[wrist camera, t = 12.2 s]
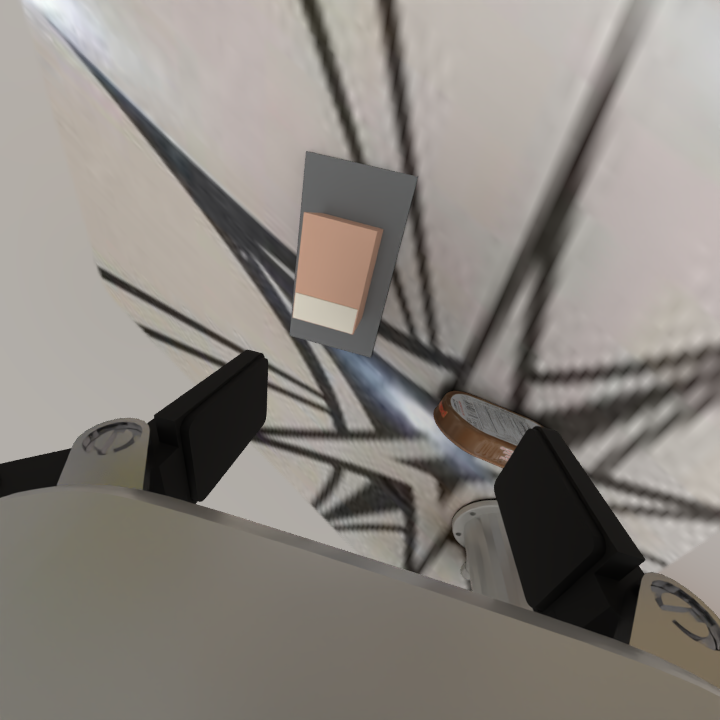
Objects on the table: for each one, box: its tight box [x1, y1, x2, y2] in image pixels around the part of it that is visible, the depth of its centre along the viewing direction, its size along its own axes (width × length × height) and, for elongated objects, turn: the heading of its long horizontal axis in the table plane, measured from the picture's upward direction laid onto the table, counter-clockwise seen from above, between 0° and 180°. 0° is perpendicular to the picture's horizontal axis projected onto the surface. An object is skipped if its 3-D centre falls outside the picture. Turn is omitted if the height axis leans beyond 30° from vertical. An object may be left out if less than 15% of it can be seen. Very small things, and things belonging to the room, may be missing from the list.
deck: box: [292, 212, 384, 335], centre depth 26 cm, size 6×9×5 cm, turn 167°
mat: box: [290, 151, 418, 357], centre depth 28 cm, size 18×10×1 cm, turn 168°
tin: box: [434, 391, 543, 468], centre depth 29 cm, size 15×3×8 cm, turn 70°
